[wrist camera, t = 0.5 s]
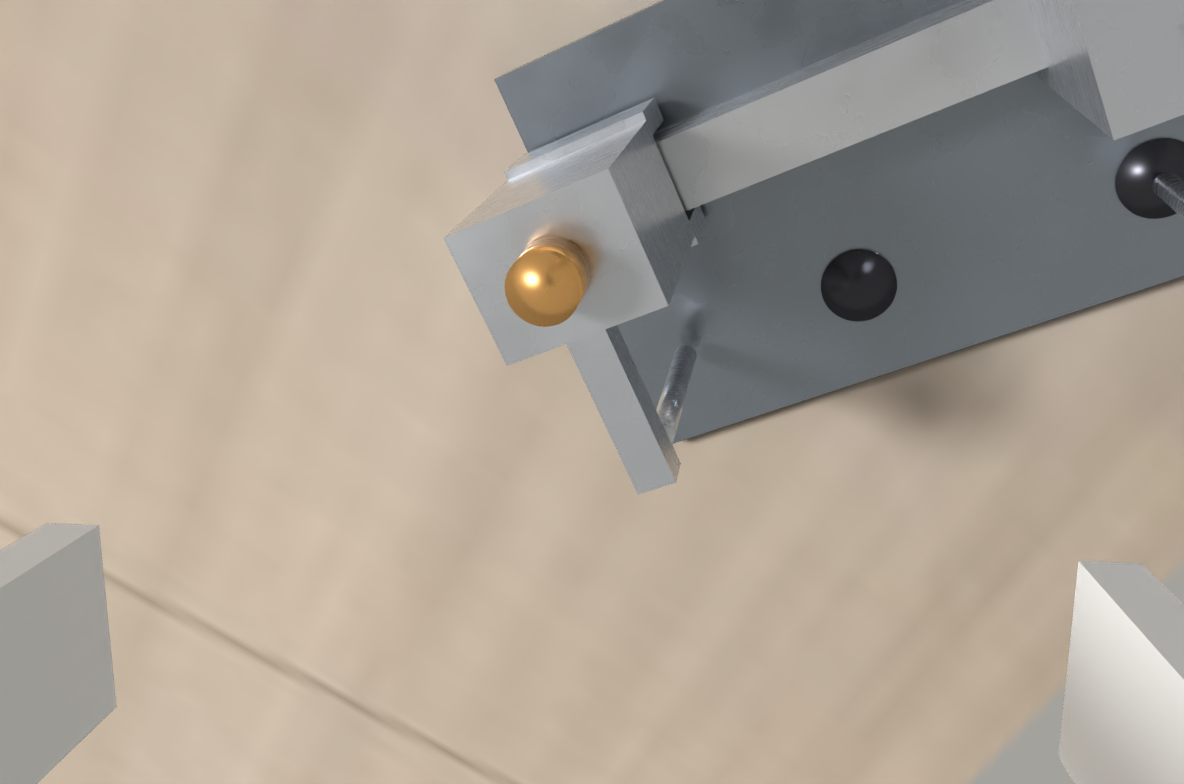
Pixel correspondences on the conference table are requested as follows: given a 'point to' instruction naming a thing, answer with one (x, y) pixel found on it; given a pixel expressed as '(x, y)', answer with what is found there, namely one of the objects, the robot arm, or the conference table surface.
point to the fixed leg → (1117, 66)
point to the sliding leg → (589, 272)
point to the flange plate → (859, 186)
